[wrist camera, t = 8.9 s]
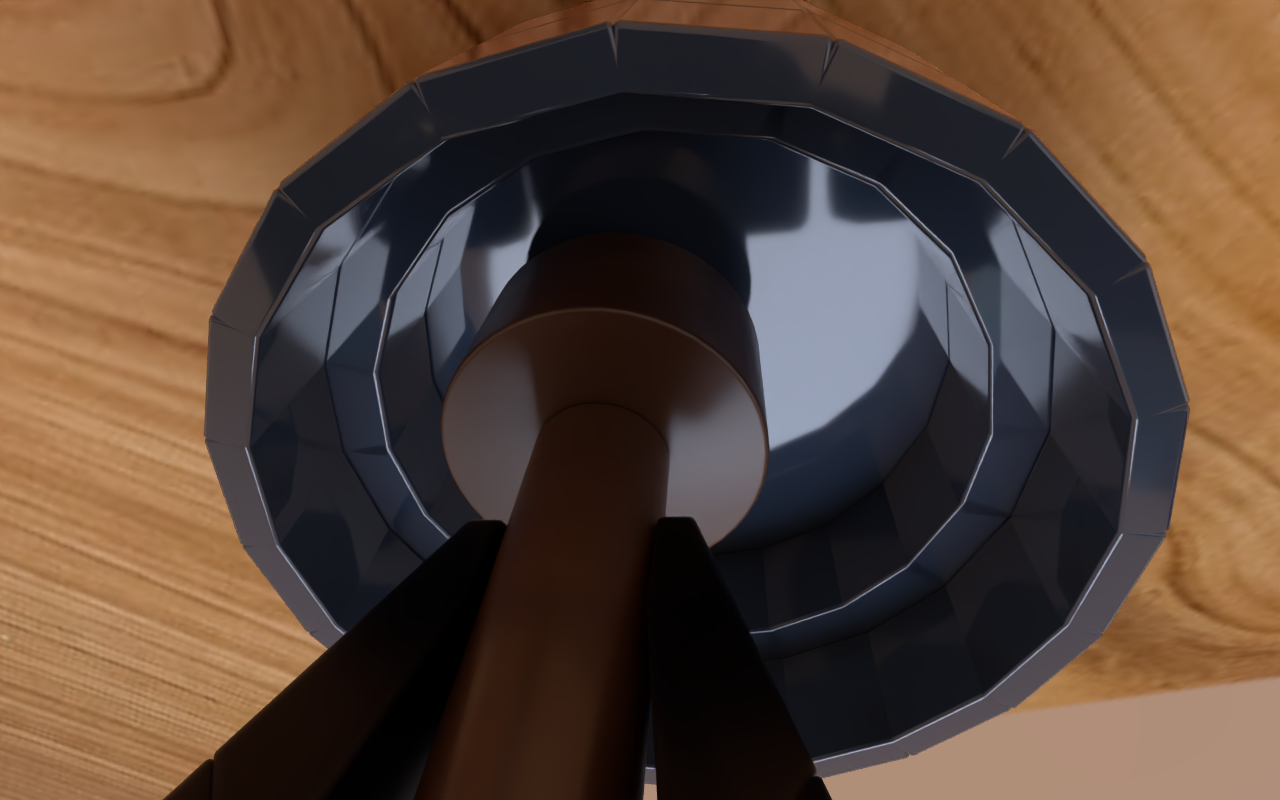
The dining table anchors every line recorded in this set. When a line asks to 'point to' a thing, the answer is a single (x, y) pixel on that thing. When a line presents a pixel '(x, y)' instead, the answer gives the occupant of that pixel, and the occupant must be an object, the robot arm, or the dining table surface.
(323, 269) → the bowl
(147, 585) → the dining table surface
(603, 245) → the peg on round base
